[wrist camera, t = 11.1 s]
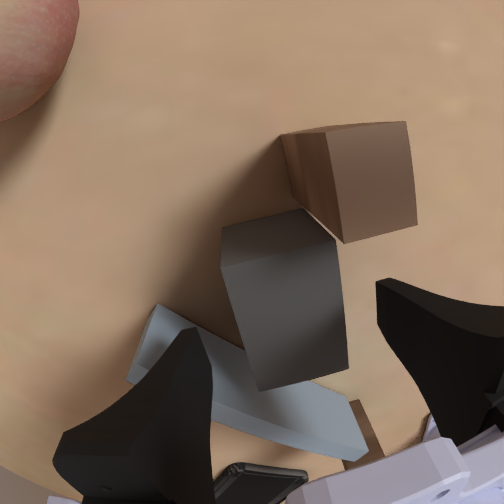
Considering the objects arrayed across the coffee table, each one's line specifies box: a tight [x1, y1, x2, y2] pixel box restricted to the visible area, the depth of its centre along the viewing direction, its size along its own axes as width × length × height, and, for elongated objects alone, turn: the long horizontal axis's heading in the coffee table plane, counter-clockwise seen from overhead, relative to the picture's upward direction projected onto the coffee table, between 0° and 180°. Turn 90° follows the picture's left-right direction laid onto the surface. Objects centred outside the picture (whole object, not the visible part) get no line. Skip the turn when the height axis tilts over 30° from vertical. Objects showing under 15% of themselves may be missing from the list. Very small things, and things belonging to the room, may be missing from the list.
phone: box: [213, 462, 309, 504], centre depth 25 cm, size 8×1×15 cm
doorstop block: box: [220, 208, 349, 392], centre depth 14 cm, size 6×4×5 cm, turn 13°
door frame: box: [280, 121, 418, 470], centre depth 14 cm, size 20×2×7 cm, turn 13°
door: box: [126, 303, 369, 462], centre depth 16 cm, size 14×2×5 cm, turn 55°
